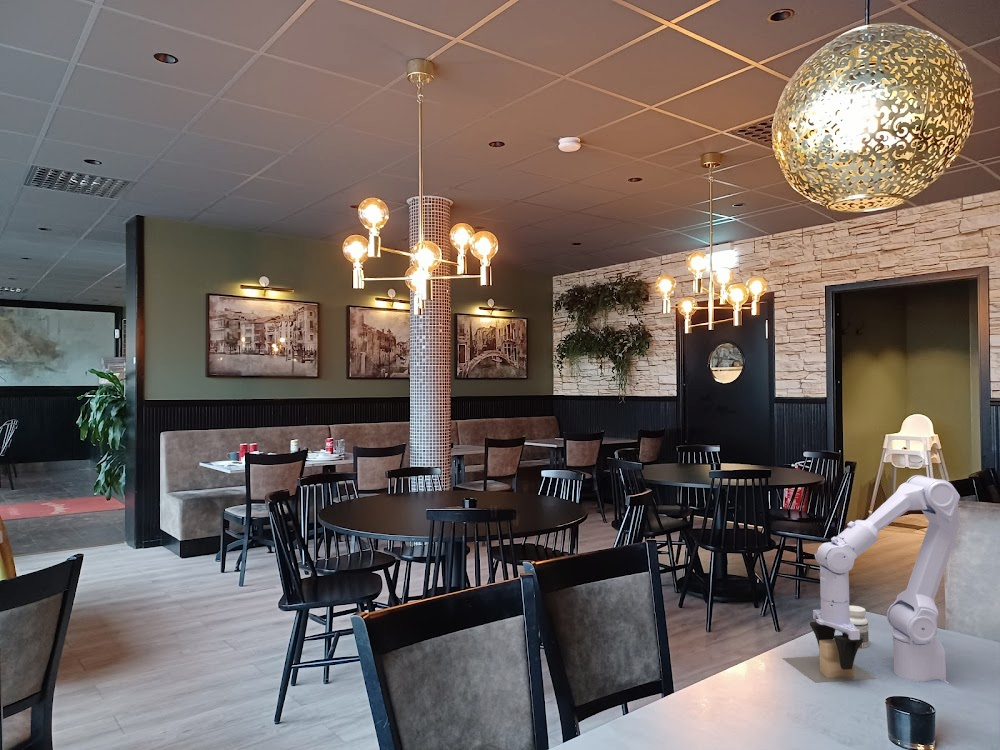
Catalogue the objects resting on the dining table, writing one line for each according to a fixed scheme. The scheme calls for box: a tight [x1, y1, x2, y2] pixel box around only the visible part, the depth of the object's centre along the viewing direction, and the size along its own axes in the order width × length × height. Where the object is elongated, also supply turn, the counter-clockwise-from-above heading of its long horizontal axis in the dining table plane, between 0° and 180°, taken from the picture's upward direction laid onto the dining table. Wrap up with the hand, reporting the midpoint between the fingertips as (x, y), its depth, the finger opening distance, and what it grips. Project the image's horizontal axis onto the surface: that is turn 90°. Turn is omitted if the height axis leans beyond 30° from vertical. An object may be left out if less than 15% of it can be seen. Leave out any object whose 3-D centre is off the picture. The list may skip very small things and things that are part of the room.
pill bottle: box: [849, 605, 870, 649], centre depth 174 cm, size 6×6×10 cm
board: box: [781, 655, 878, 684], centre depth 159 cm, size 14×14×1 cm
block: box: [818, 638, 855, 678], centre depth 156 cm, size 6×3×7 cm, turn 96°
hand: (836, 662), depth 156 cm, fingers open, 7 cm apart
